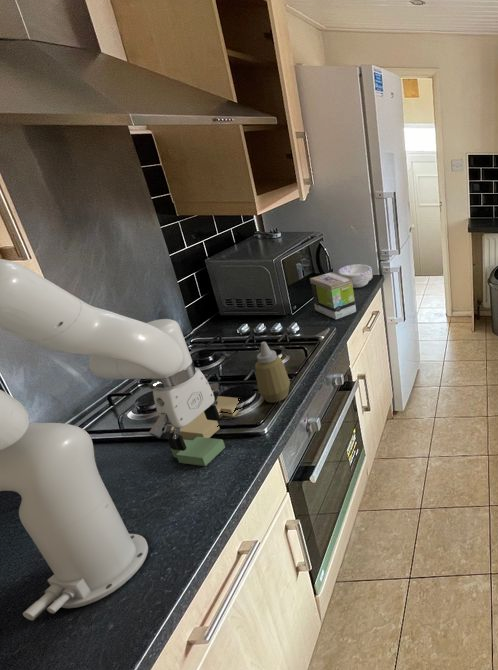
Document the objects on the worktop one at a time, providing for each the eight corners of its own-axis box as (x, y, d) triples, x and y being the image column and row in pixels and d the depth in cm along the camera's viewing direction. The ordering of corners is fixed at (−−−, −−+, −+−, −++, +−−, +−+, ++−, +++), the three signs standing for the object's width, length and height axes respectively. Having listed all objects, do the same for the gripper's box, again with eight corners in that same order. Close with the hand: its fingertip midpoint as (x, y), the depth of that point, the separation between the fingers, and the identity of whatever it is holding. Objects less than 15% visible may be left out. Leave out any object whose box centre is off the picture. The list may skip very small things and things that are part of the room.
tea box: (357, 311, 172) (352, 278, 167) (335, 320, 165) (329, 286, 159) (336, 302, 181) (330, 271, 175) (314, 310, 173) (308, 277, 167)
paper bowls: (371, 289, 195) (369, 273, 192) (337, 291, 192) (334, 275, 189) (375, 277, 208) (373, 263, 205) (343, 279, 206) (341, 264, 203)
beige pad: (205, 441, 104) (202, 433, 103) (169, 437, 105) (166, 429, 104) (245, 405, 116) (243, 398, 115) (214, 402, 118) (211, 395, 117)
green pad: (205, 466, 96) (202, 458, 95) (169, 461, 98) (165, 453, 97) (225, 447, 102) (222, 439, 101) (190, 443, 103) (187, 435, 102)
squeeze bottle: (279, 407, 116) (265, 352, 109) (254, 403, 117) (238, 348, 110) (298, 390, 123) (286, 337, 116) (274, 386, 125) (261, 334, 118)
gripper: (152, 401, 83) (179, 464, 90) (220, 353, 98) (238, 410, 105) (119, 397, 84) (149, 460, 91) (191, 351, 99) (212, 407, 106)
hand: (197, 433), depth 98 cm, fingers open, 9 cm apart
